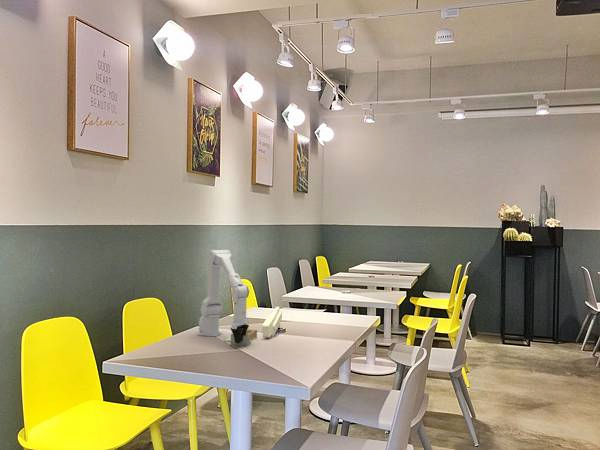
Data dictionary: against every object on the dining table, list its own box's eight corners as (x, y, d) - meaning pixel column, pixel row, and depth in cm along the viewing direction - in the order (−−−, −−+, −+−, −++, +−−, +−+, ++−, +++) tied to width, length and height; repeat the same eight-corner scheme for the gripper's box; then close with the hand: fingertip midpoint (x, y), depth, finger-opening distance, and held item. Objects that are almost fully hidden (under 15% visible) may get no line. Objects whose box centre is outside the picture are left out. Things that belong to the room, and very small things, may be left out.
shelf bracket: (284, 329, 268) (283, 307, 266) (272, 349, 244) (271, 325, 242) (274, 328, 269) (273, 306, 267) (261, 349, 245) (260, 324, 243)
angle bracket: (230, 345, 231) (230, 334, 231) (234, 343, 236) (234, 332, 236) (247, 346, 229) (247, 335, 229) (251, 344, 234) (251, 333, 234)
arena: (224, 341, 238) (224, 333, 238) (233, 336, 250) (233, 328, 250) (248, 343, 235) (248, 335, 235) (256, 337, 247) (256, 330, 247)
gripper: (242, 315, 223) (242, 346, 223) (253, 310, 237) (253, 339, 237) (227, 314, 224) (227, 345, 224) (239, 309, 238) (239, 338, 238)
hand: (239, 341), depth 231 cm, fingers open, 5 cm apart
